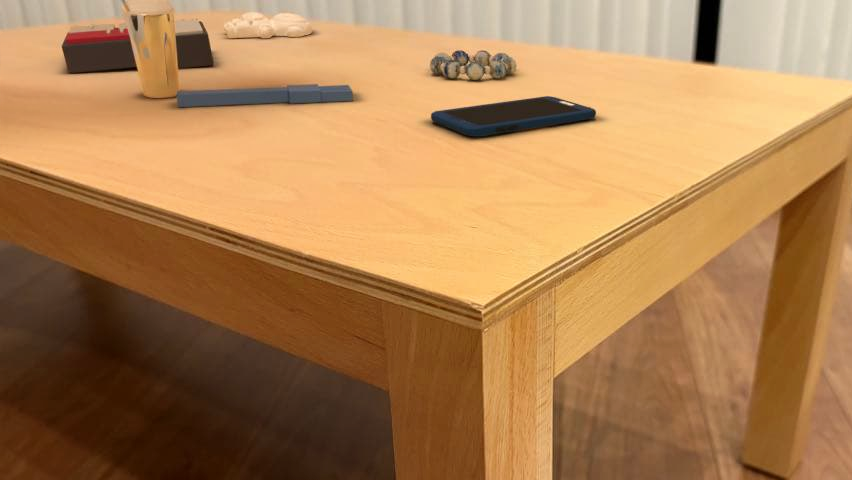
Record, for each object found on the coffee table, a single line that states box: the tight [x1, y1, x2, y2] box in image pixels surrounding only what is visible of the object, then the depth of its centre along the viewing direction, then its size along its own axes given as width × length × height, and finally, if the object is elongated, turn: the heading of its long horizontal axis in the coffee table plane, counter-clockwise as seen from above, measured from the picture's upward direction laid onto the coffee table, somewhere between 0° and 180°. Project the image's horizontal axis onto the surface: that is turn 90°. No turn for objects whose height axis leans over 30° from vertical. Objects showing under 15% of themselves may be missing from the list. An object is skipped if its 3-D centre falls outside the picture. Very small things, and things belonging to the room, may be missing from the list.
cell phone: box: [430, 95, 597, 137], centre depth 78 cm, size 7×14×1 cm, turn 127°
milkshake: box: [120, 0, 181, 99], centre depth 82 cm, size 4×5×10 cm
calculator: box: [61, 18, 215, 74], centre depth 99 cm, size 11×4×15 cm
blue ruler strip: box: [175, 83, 354, 108], centre depth 83 cm, size 16×3×1 cm, turn 108°
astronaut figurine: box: [222, 11, 313, 39], centre depth 121 cm, size 9×12×3 cm
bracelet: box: [429, 49, 517, 81], centre depth 98 cm, size 10×10×2 cm
